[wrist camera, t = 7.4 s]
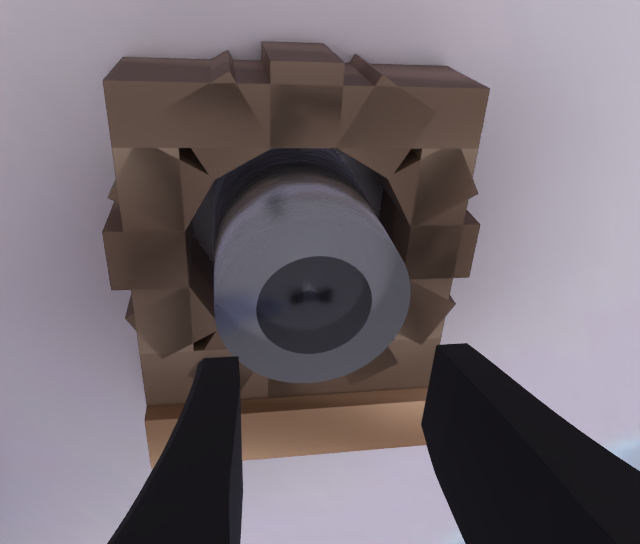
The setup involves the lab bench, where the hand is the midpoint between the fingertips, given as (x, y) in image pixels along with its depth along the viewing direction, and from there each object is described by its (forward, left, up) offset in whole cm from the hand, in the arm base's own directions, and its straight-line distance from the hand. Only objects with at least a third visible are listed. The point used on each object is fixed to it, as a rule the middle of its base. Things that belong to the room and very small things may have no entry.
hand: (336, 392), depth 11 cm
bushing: (0, 0, -8) cm, 8 cm away
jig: (-2, 0, -8) cm, 9 cm away
